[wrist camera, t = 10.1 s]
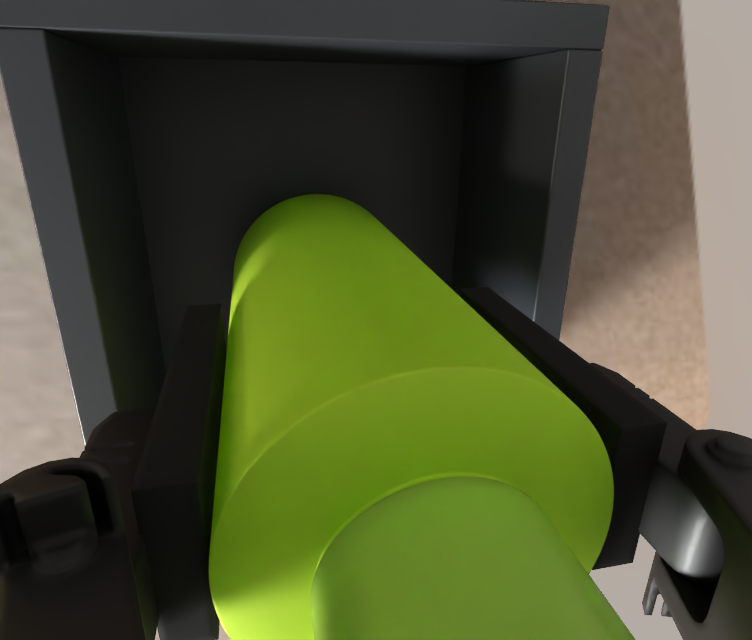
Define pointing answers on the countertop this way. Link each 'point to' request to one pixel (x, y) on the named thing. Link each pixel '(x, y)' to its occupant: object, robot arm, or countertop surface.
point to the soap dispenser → (393, 454)
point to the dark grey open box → (287, 151)
